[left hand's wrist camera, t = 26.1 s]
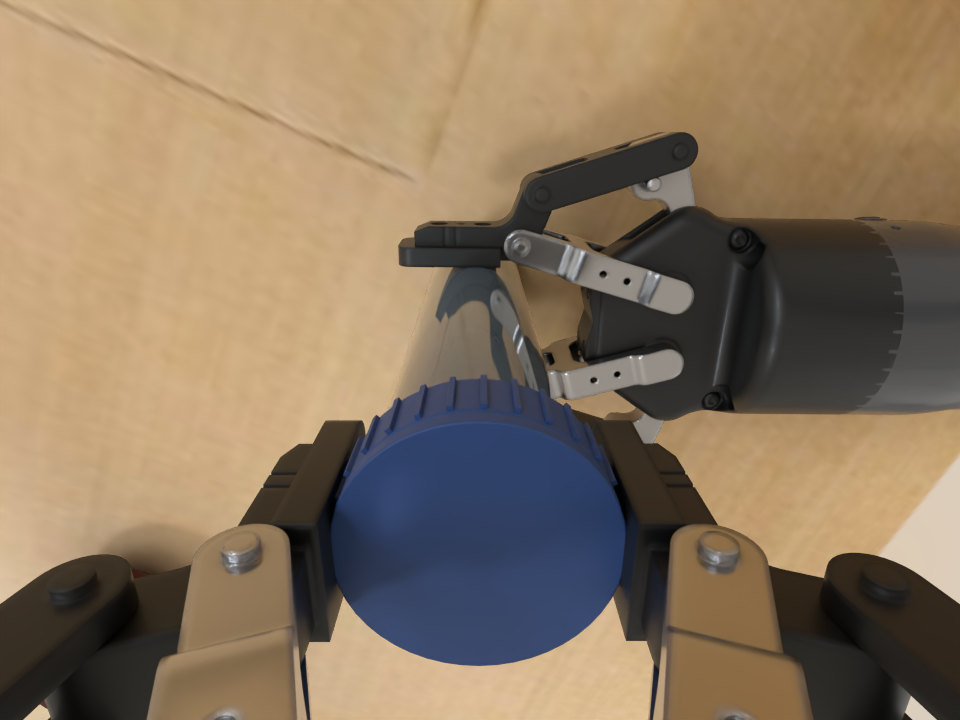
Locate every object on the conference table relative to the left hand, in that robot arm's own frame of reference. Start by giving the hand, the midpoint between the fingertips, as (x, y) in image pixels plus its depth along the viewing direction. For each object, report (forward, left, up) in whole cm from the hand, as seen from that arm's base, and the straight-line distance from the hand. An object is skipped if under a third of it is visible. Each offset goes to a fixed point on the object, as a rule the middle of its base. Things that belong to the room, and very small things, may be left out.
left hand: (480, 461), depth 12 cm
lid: (0, 0, +3) cm, 3 cm away
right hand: (0, -3, -11) cm, 12 cm away
